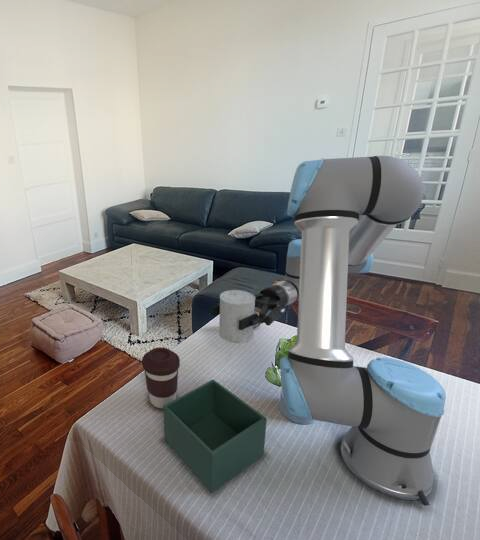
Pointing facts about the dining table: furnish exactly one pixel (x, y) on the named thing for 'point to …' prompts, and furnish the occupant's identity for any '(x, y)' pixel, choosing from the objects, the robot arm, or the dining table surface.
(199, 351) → the dining table surface
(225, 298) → the white mottled cylinder
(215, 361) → the dining table surface
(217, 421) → the bin
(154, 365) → the coffee cup
